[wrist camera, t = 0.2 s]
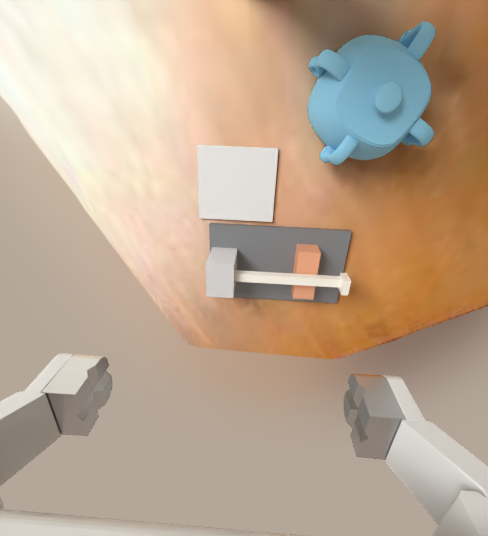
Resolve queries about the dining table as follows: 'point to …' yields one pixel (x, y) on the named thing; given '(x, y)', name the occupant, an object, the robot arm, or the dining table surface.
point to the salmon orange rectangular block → (305, 269)
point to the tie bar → (295, 279)
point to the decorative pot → (371, 95)
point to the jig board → (270, 259)
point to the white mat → (236, 182)
